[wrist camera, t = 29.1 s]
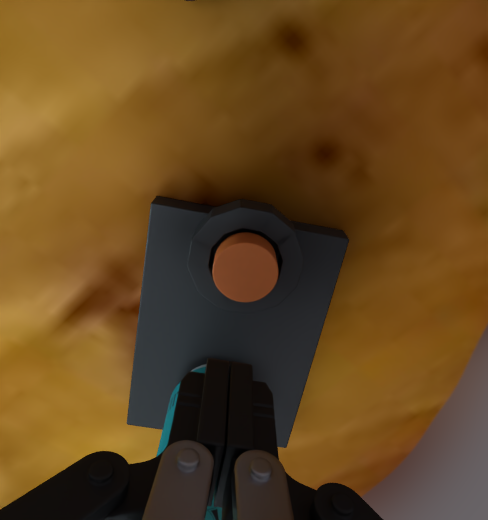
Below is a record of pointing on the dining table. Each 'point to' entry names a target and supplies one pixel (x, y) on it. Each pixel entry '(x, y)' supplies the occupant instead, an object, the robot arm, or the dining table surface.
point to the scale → (229, 305)
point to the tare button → (245, 267)
